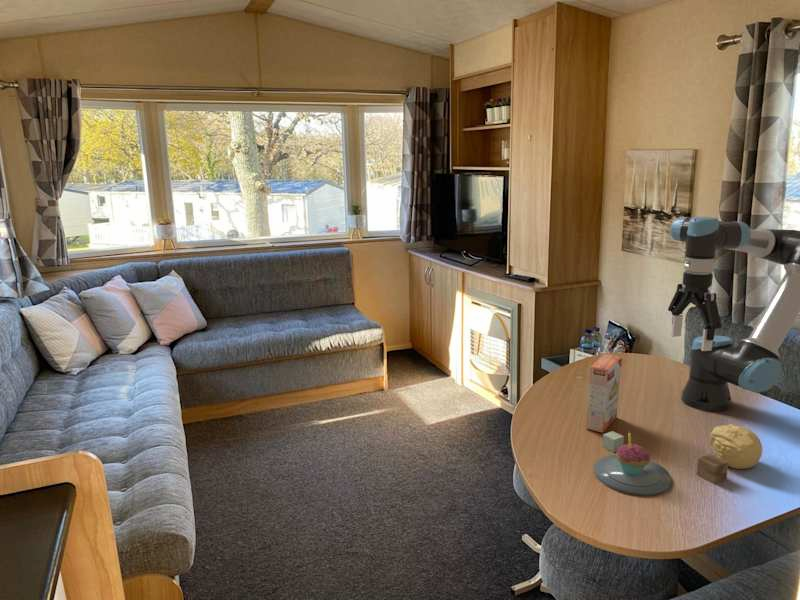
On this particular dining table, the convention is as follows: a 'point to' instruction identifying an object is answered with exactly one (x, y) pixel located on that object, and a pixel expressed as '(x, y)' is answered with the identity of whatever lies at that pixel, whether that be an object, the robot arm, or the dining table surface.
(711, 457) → the walnut block
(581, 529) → the dining table surface
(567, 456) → the dining table surface
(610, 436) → the sage block
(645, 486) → the plate
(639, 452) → the cupcake
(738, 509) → the dining table surface
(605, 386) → the cracker box
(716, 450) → the sculpture
